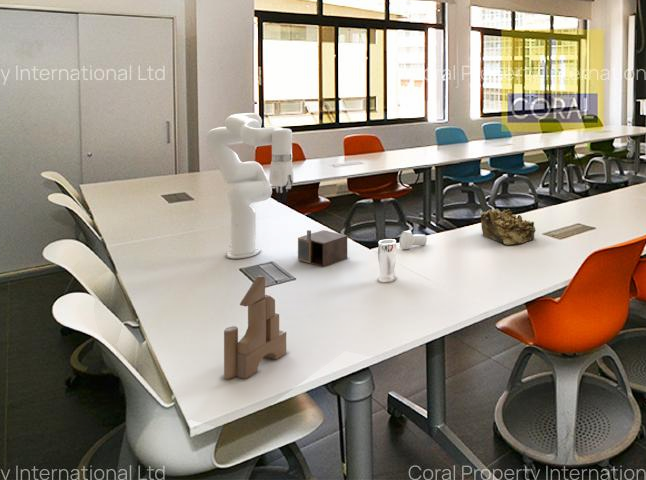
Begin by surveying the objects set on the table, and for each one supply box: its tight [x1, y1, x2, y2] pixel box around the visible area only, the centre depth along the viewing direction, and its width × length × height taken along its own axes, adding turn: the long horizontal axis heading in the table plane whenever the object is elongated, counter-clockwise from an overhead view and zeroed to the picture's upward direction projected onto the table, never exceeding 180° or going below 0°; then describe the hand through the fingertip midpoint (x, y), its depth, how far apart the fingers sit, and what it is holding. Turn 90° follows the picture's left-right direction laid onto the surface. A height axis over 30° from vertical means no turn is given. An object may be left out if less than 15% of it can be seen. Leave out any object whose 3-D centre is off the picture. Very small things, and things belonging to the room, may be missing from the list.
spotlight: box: [399, 230, 428, 250], centre depth 247 cm, size 8×11×8 cm
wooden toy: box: [223, 275, 287, 380], centre depth 148 cm, size 16×7×25 cm, turn 162°
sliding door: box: [297, 229, 312, 264], centre depth 227 cm, size 1×8×14 cm, turn 60°
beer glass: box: [377, 238, 397, 283], centre depth 209 cm, size 7×7×15 cm
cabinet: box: [299, 229, 348, 268], centre depth 231 cm, size 12×16×10 cm
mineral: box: [480, 208, 536, 246], centre depth 264 cm, size 27×25×15 cm
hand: (282, 201), depth 222 cm, fingers closed
